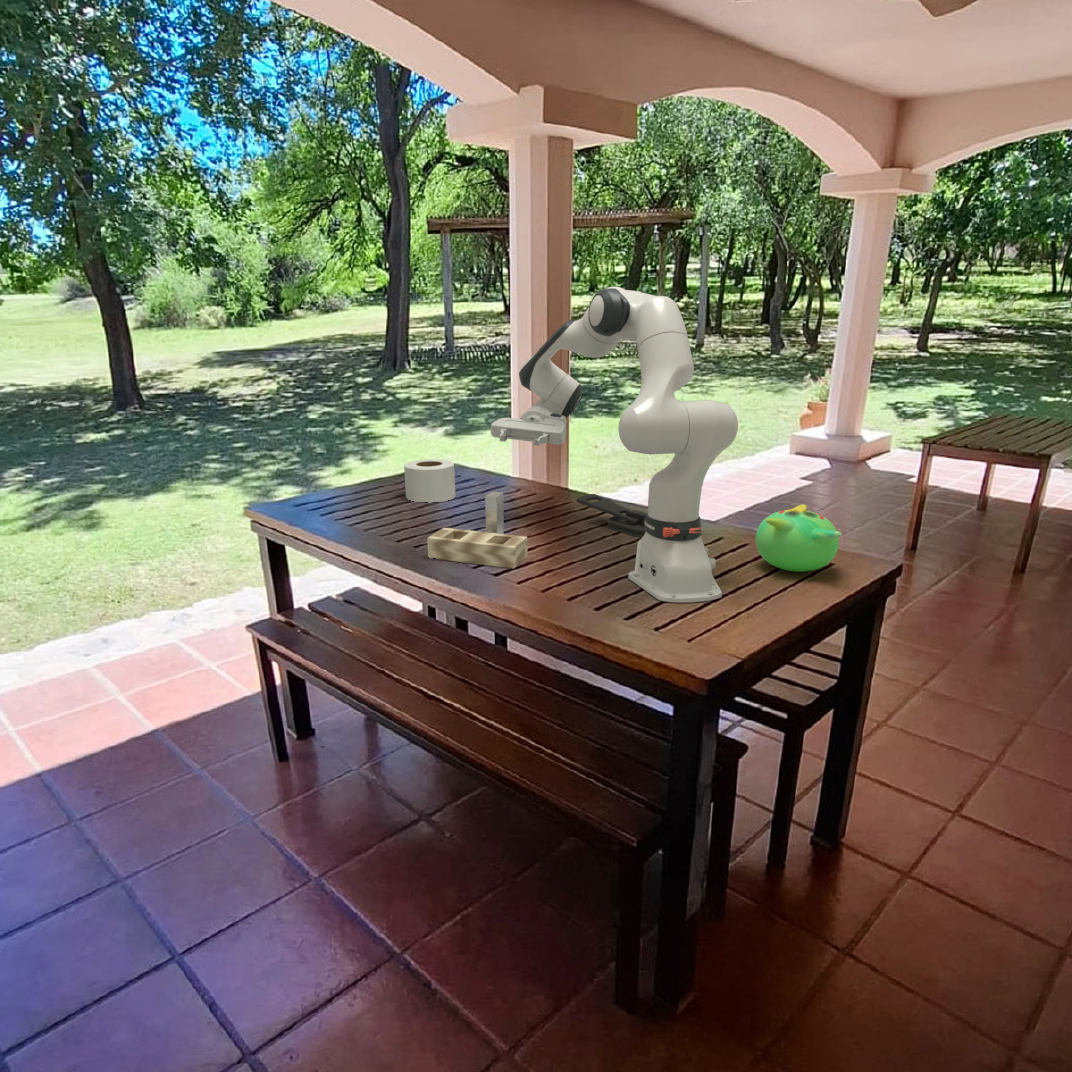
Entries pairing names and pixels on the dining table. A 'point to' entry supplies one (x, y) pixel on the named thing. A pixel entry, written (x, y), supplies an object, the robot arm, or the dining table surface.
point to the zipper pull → (618, 515)
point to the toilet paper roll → (429, 480)
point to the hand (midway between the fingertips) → (519, 440)
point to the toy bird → (797, 540)
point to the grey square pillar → (494, 513)
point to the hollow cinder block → (477, 547)
